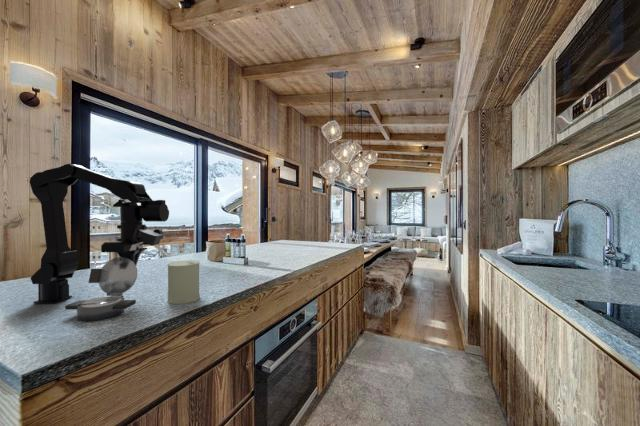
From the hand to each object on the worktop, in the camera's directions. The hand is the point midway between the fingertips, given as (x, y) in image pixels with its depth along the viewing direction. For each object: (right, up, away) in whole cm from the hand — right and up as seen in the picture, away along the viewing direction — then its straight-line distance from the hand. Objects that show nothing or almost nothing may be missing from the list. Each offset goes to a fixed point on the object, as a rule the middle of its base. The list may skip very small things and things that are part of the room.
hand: (131, 271), depth 88 cm
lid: (-1, 0, -7) cm, 7 cm away
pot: (0, -9, -13) cm, 16 cm away
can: (+16, -9, +1) cm, 19 cm away
